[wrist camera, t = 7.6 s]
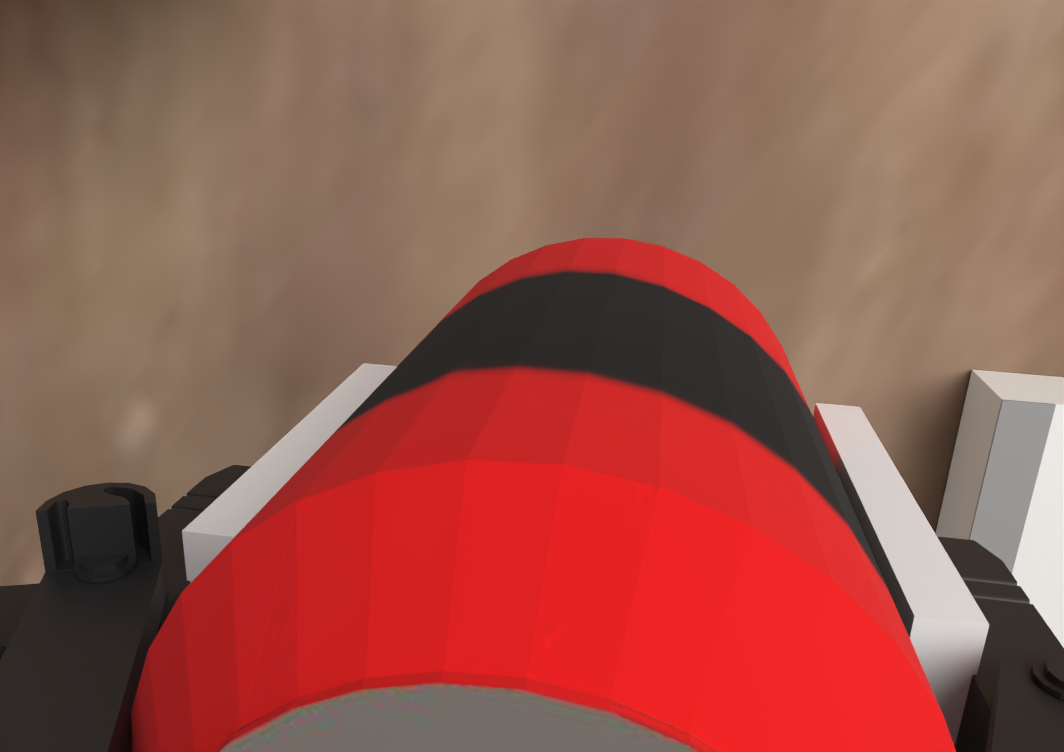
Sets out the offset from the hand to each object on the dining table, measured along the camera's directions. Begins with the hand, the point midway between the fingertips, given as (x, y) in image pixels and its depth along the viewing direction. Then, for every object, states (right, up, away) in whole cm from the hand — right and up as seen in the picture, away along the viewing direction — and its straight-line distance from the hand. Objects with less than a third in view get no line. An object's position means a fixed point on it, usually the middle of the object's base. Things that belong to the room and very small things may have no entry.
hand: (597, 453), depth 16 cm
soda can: (0, +1, +2) cm, 2 cm away
